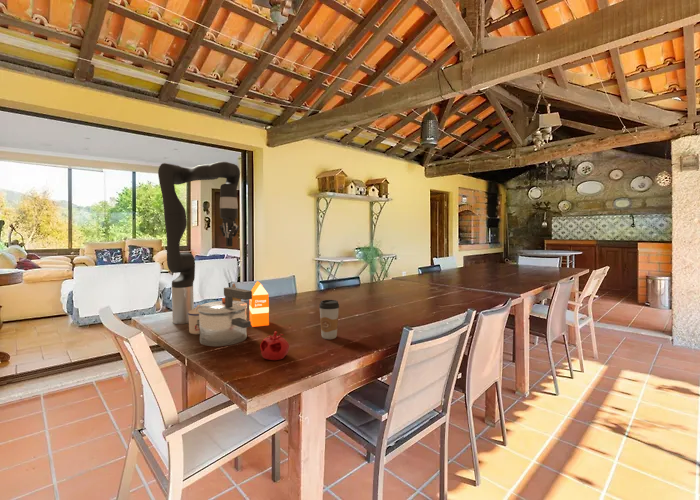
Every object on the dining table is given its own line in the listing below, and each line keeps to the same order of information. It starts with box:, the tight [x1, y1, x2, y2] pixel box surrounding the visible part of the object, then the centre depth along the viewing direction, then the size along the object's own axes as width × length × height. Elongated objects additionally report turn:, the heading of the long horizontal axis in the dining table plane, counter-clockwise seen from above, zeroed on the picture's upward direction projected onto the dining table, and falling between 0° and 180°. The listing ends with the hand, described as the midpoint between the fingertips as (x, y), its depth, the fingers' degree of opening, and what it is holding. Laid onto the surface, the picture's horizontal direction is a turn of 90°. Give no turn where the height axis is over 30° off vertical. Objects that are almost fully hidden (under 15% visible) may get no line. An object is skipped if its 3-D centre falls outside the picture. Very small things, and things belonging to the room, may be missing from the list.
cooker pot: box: [199, 309, 252, 347], centre depth 139 cm, size 26×18×12 cm
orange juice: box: [248, 280, 270, 328], centre depth 164 cm, size 8×9×20 cm
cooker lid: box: [198, 286, 252, 315], centre depth 138 cm, size 26×19×9 cm
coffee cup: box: [318, 299, 340, 340], centre depth 144 cm, size 8×8×15 cm
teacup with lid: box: [188, 304, 201, 335], centre depth 152 cm, size 12×9×12 cm
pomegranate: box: [259, 330, 290, 361], centre depth 122 cm, size 10×10×9 cm
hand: (229, 246), depth 156 cm, fingers closed
